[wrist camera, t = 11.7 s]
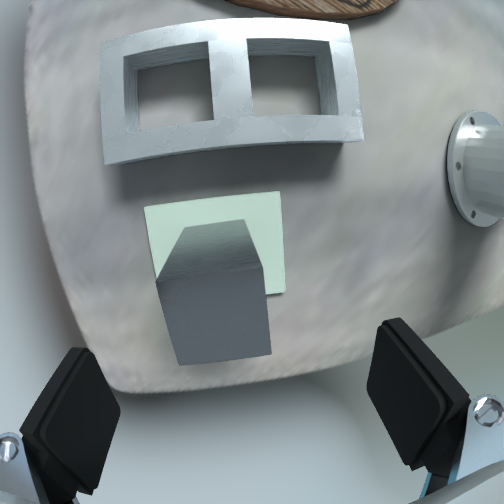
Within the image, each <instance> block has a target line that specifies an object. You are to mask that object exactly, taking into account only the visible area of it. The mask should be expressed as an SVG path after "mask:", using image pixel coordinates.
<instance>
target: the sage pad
mask: <svg viewBox="0 0 504 504" xmlns="http://www.w3.org/2000/svg"><path fill="white" fill-rule="evenodd" d="M144 211H145V217H146V223H147V229H148V235H149V241H150V246H151V252H152V257H153V262H154V267H155V272H156V277H157V278H158V276H159V274H160V272H161V270H162V268H163V266H164V264H165V262H166V260H167V258H168V256H169V255H170V253H171V251H172V249H173V247H174V245H175V243H176V242H177V240H178V238H179V236H180V234H181V233H182V231H183V229H184V227H189V226H196V225H203V224H210V223H218V222H225V221H232V220H240V219H244V220H245V223H246V225H247V228H248V230H249V233H250V235H251V238H252V240H253V243H254V245H255V248H256V251H257V253H258V256H259V258H260V261H261V263H262V266H263V271H264V281H265V291H266V294H274V293H282V292H285V270H284V250H283V232H282V215H281V200H280V192H279V191H273V192H261V193H250V194H240V195H230V196H221V197H212V198H203V199H195V200H187V201H180V202H172V203H165V204H158V205H151V206H146V207H144Z"/></svg>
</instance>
